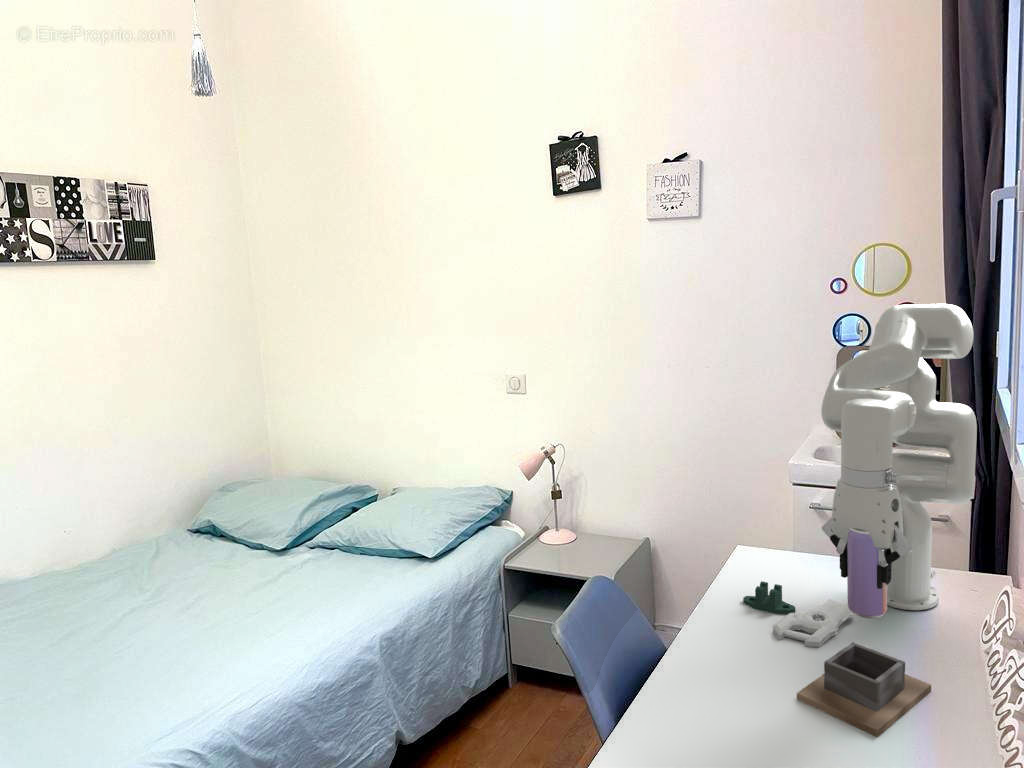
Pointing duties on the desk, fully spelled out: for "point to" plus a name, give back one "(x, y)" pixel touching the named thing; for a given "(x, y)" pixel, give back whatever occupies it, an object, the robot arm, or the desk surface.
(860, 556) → the beverage can
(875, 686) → the can dock
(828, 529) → the robot arm
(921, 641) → the desk surface
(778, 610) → the mount
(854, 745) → the desk surface
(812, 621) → the grey mechanical plate
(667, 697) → the desk surface
